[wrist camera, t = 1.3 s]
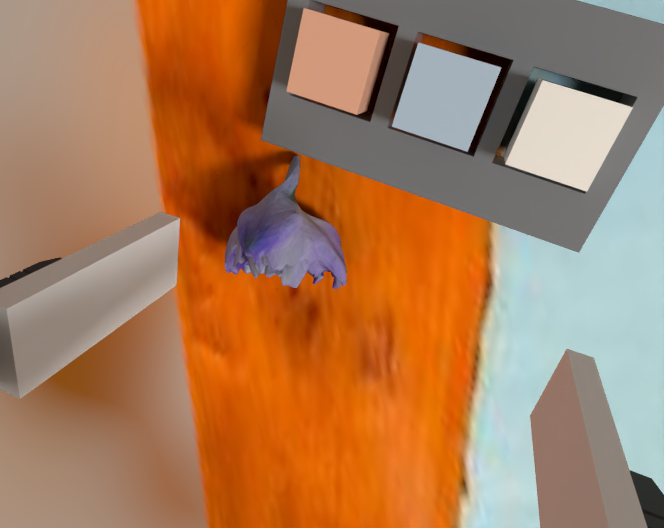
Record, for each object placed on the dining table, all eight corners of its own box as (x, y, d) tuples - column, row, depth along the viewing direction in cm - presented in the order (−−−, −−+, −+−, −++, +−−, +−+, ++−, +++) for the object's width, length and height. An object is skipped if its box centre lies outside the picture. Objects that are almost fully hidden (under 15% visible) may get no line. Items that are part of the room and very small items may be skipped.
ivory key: (537, 78, 26) (542, 80, 23) (619, 103, 25) (633, 107, 23) (503, 155, 28) (505, 164, 25) (578, 180, 27) (586, 191, 25)
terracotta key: (319, 12, 27) (303, 7, 25) (389, 33, 27) (380, 31, 25) (301, 88, 29) (286, 91, 27) (367, 110, 29) (356, 114, 27)
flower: (190, 146, 29) (213, 307, 27) (328, 125, 29) (357, 282, 28) (220, 190, 38) (238, 312, 37) (324, 174, 38) (346, 293, 37)
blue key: (424, 44, 27) (418, 42, 24) (500, 66, 26) (501, 67, 24) (399, 120, 29) (391, 126, 26) (469, 144, 28) (467, 151, 26)
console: (319, -63, 28) (302, -75, 25) (681, 37, 25) (704, 35, 22) (278, 133, 34) (260, 139, 31) (571, 235, 30) (578, 252, 28)
